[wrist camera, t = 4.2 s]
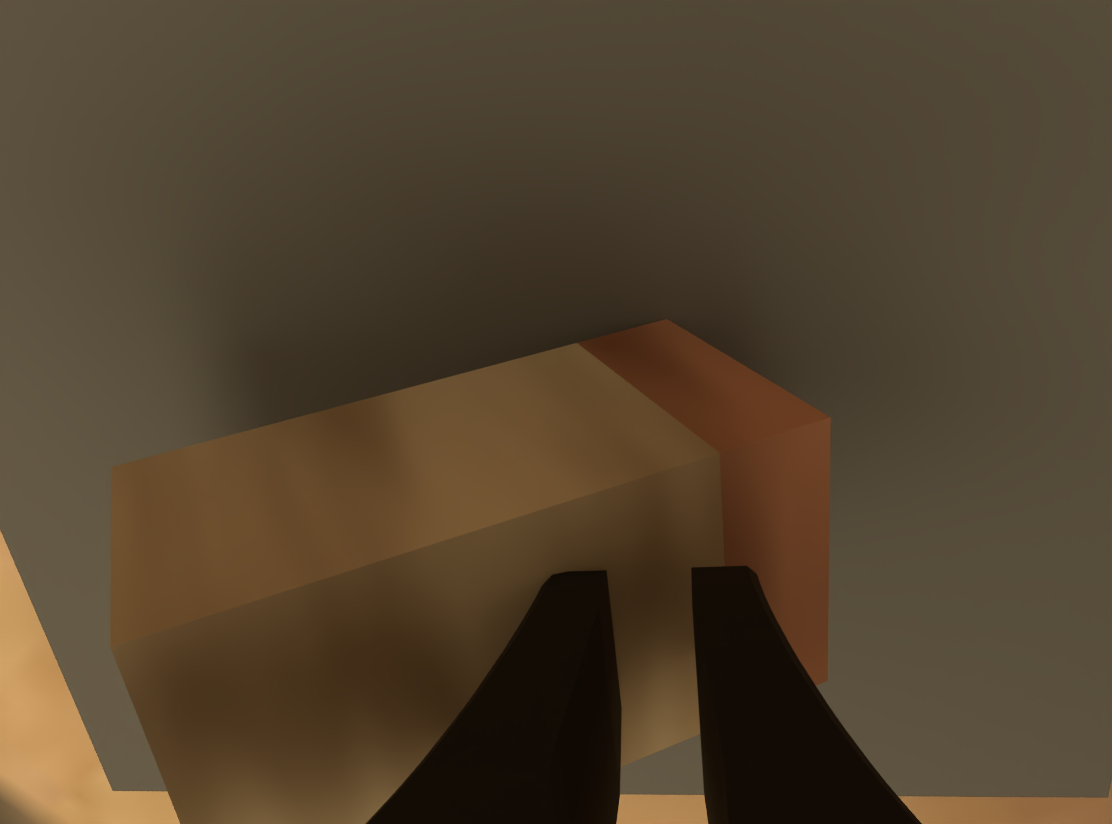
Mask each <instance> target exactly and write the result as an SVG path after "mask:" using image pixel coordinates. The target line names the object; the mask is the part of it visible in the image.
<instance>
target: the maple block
mask: <svg viewBox="0 0 1112 824" xmlns="http://www.w3.org/2000/svg"><path fill="white" fill-rule="evenodd" d="M830 435H831V417H829V416H828V415H826V414H824V413H823V412H821V411H819V410H818V409H816V408H814V407H813V406H811V405H809V404H808V403H806V402H804V401H803V400H801V399H799V398H798V397H796V396H794V395H793V394H791V393H789V392H788V391H786V390H784V389H783V388H781V387H779V386H778V385H776V384H774V383H773V382H771V381H769V380H768V379H766V378H764V377H763V376H761V375H759V374H758V373H756V372H754V371H753V370H751V369H749V368H748V367H746V366H744V365H743V364H741V363H739V362H738V361H736V360H734V359H733V358H731V357H729V356H728V355H726V354H724V353H723V352H721V351H719V350H718V349H716V348H714V347H713V346H711V345H709V344H708V343H706V342H704V341H703V340H701V339H699V338H698V337H696V336H694V335H693V334H691V333H690V332H688V331H686V330H685V329H683V328H681V327H680V326H678V325H676V324H675V323H673V322H671V321H670V320H668V319H665V320H661V321H657V322H653V323H650V324H646V325H642V326H638V327H635V328H631V329H627V330H623V331H620V332H616V333H612V334H608V335H605V336H601V337H597V338H593V339H590V340H586V341H582V342H578V343H575V344H571V345H567V346H563V347H560V348H556V349H552V350H548V351H545V352H541V353H537V354H533V355H530V356H526V357H522V358H518V359H515V360H511V361H507V362H503V363H499V364H496V365H492V366H488V367H484V368H481V369H477V370H473V371H469V372H466V373H462V374H458V375H454V376H451V377H447V378H443V379H439V380H436V381H432V382H428V383H424V384H421V385H417V386H413V387H409V388H406V389H402V390H398V391H394V392H391V393H387V394H383V395H379V396H376V397H372V398H368V399H364V400H361V401H357V402H353V403H349V404H346V405H342V406H338V407H334V408H331V409H327V410H323V411H319V412H316V413H312V414H308V415H304V416H300V417H297V418H293V419H289V420H285V421H282V422H278V423H274V424H270V425H267V426H263V427H259V428H255V429H252V430H248V431H244V432H240V433H237V434H233V435H229V436H225V437H222V438H218V439H214V440H210V441H207V442H203V443H199V444H195V445H192V446H188V447H184V448H180V449H177V450H173V451H169V452H165V453H162V454H158V455H154V456H150V457H147V458H143V459H139V460H135V461H132V462H128V463H124V464H120V465H116V466H113V467H111V590H110V648H111V650H112V653H113V655H114V658H115V660H116V663H117V665H118V668H119V670H120V673H121V675H122V678H123V680H124V683H125V685H126V688H127V690H128V693H129V695H130V698H131V700H132V703H133V706H134V708H135V711H136V713H137V716H138V718H139V721H140V723H141V726H142V728H143V731H144V733H145V736H146V738H147V741H148V743H149V746H150V748H151V751H152V753H153V756H154V758H155V761H156V763H157V766H158V768H159V771H160V773H161V776H162V778H163V781H164V783H165V786H166V788H167V791H168V793H169V796H170V798H171V801H172V803H173V806H174V809H175V811H176V814H177V816H178V819H179V821H180V824H366V823H367V822H368V820H369V819H370V818H371V817H372V816H373V815H374V814H375V813H376V812H377V811H378V810H379V809H380V808H381V807H382V805H383V804H384V803H385V802H386V801H387V800H388V799H389V798H390V797H391V796H392V795H393V794H394V792H395V791H396V790H397V789H398V788H399V787H400V786H401V785H402V783H403V782H404V781H405V780H406V779H407V778H408V777H409V775H410V774H411V773H412V772H413V771H414V769H415V768H416V767H417V766H418V765H419V764H420V762H421V761H422V760H423V759H424V758H425V756H426V755H427V754H428V753H429V751H430V750H431V749H432V748H433V746H434V745H435V744H436V742H437V741H438V740H439V739H440V737H441V736H442V735H443V733H444V732H445V731H446V730H447V728H448V727H449V726H450V724H451V723H452V722H453V721H454V719H455V718H456V717H457V716H458V714H459V713H460V712H461V710H462V709H463V708H464V706H465V705H466V704H467V702H468V701H469V700H470V698H471V697H472V696H473V694H474V693H475V691H476V690H477V688H478V687H479V685H480V684H481V683H482V681H483V680H484V678H485V677H486V675H487V674H488V672H489V671H490V669H491V668H492V666H493V665H494V664H495V662H496V661H497V659H498V658H499V656H500V655H501V653H502V652H503V650H504V649H505V647H506V646H507V644H508V642H509V641H510V639H511V638H512V636H513V635H514V633H515V631H516V630H517V628H518V627H519V625H520V623H521V622H522V620H523V618H524V617H525V615H526V613H527V612H528V610H529V608H530V607H531V605H532V603H533V601H534V599H535V598H536V596H537V594H538V592H539V591H540V589H541V587H542V585H543V584H544V583H545V582H546V581H547V580H548V579H549V578H550V576H551V575H553V574H558V573H563V572H569V571H599V570H607V578H608V587H609V597H610V606H611V615H612V624H613V633H614V642H615V651H616V661H617V670H618V679H619V688H620V697H621V706H622V721H621V767H622V766H624V765H626V764H629V763H631V762H634V761H636V760H638V759H641V758H643V757H646V756H648V755H650V754H653V753H655V752H658V751H660V750H663V749H665V748H667V747H670V746H672V745H675V744H677V743H679V742H682V741H684V740H687V739H689V738H691V737H694V736H696V735H699V734H700V721H699V705H698V689H697V674H696V658H695V642H694V626H693V611H692V579H691V567H720V566H748V567H749V568H750V569H752V570H753V571H754V572H755V573H756V574H757V575H758V579H759V582H760V584H761V587H762V589H763V592H764V594H765V597H766V599H767V601H768V603H769V605H770V608H771V610H772V612H773V614H774V616H775V618H776V620H777V622H778V623H779V625H780V627H781V629H782V631H783V632H784V634H785V636H786V638H787V640H788V642H789V643H790V645H791V647H792V649H793V650H794V652H795V654H796V655H797V657H798V659H799V660H800V662H801V664H802V665H803V667H804V668H805V670H806V671H807V673H808V674H809V676H810V677H811V679H812V681H813V682H814V684H815V685H816V686H817V685H819V684H821V683H824V682H826V681H828V606H829V521H830Z"/></svg>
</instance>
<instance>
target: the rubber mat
mask: <svg viewBox="0 0 1112 824" xmlns="http://www.w3.org/2000/svg"><path fill="white" fill-rule="evenodd" d="M665 319H668V320H670V321H671V322H673V323H675V324H676V325H678V326H680V327H681V328H683V329H685V330H686V331H688V332H690V333H691V334H693V335H694V336H696V337H698V338H699V339H701V340H703V341H704V342H706V343H708V344H709V345H711V346H713V347H714V348H716V349H718V350H719V351H721V352H723V353H724V354H726V355H728V356H729V357H731V358H733V359H734V360H736V361H738V362H739V363H741V364H743V365H744V366H746V367H748V368H749V369H751V370H753V371H754V372H756V373H758V374H759V375H761V376H763V377H764V378H766V379H768V380H769V381H771V382H773V383H774V384H776V385H778V386H779V387H781V388H783V389H784V390H786V391H788V392H789V393H791V394H793V395H794V396H796V397H798V398H799V399H801V400H803V401H804V402H806V403H808V404H809V405H811V406H813V407H814V408H816V409H818V410H819V411H821V412H823V413H824V414H826V415H828V416H829V417H831V435H830V521H829V606H828V681H826V682H824V683H821V684H819V685H817V686H816V687H817V688H818V690H819V691H820V693H821V694H822V696H823V698H824V699H825V701H826V702H827V704H828V705H829V707H830V708H831V709H832V711H833V712H834V714H835V715H836V717H837V718H838V719H839V721H840V722H841V724H842V725H843V727H844V728H845V729H846V731H847V732H848V733H849V735H850V736H851V737H852V739H853V740H854V741H855V743H856V744H857V745H858V747H859V748H860V749H861V751H862V752H863V753H864V755H865V756H866V757H867V759H868V760H869V761H870V763H871V764H872V765H873V766H874V768H875V769H876V770H877V771H878V773H879V774H880V775H881V776H882V778H883V779H884V780H885V781H886V783H887V784H888V785H889V786H890V787H891V789H892V790H893V791H894V792H895V793H896V795H897V796H958V797H1108V795H1109V790H1110V784H1111V779H1112V0H0V530H1V532H2V534H3V537H4V539H5V541H6V544H7V546H8V548H9V551H10V553H11V555H12V558H13V560H14V562H15V565H16V567H17V569H18V572H19V574H20V576H21V579H22V581H23V583H24V586H25V588H26V590H27V593H28V595H29V597H30V600H31V602H32V604H33V607H34V609H35V611H36V614H37V616H38V618H39V621H40V623H41V625H42V627H43V630H44V632H45V634H46V637H47V639H48V641H49V644H50V646H51V648H52V651H53V653H54V655H55V658H56V660H57V662H58V665H59V667H60V669H61V672H62V674H63V676H64V679H65V681H66V683H67V686H68V688H69V690H70V693H71V695H72V697H73V700H74V702H75V704H76V707H77V709H78V711H79V714H80V716H81V718H82V720H83V723H84V725H85V727H86V730H87V732H88V734H89V737H90V739H91V741H92V744H93V746H94V748H95V751H96V753H97V755H98V758H99V760H100V762H101V765H102V767H103V769H104V772H105V774H106V776H107V779H108V781H109V783H110V786H111V788H112V790H113V791H167V788H166V786H165V783H164V781H163V778H162V776H161V773H160V771H159V768H158V766H157V763H156V761H155V758H154V756H153V753H152V751H151V748H150V746H149V743H148V741H147V738H146V736H145V733H144V731H143V728H142V726H141V723H140V721H139V718H138V716H137V713H136V711H135V708H134V706H133V703H132V700H131V698H130V695H129V693H128V690H127V688H126V685H125V683H124V680H123V678H122V675H121V673H120V670H119V668H118V665H117V663H116V660H115V658H114V655H113V653H112V650H111V648H110V590H111V467H113V466H116V465H120V464H124V463H128V462H132V461H135V460H139V459H143V458H147V457H150V456H154V455H158V454H162V453H165V452H169V451H173V450H177V449H180V448H184V447H188V446H192V445H195V444H199V443H203V442H207V441H210V440H214V439H218V438H222V437H225V436H229V435H233V434H237V433H240V432H244V431H248V430H252V429H255V428H259V427H263V426H267V425H270V424H274V423H278V422H282V421H285V420H289V419H293V418H297V417H300V416H304V415H308V414H312V413H316V412H319V411H323V410H327V409H331V408H334V407H338V406H342V405H346V404H349V403H353V402H357V401H361V400H364V399H368V398H372V397H376V396H379V395H383V394H387V393H391V392H394V391H398V390H402V389H406V388H409V387H413V386H417V385H421V384H424V383H428V382H432V381H436V380H439V379H443V378H447V377H451V376H454V375H458V374H462V373H466V372H469V371H473V370H477V369H481V368H484V367H488V366H492V365H496V364H499V363H503V362H507V361H511V360H515V359H518V358H522V357H526V356H530V355H533V354H537V353H541V352H545V351H548V350H552V349H556V348H560V347H563V346H567V345H571V344H575V343H578V342H582V341H586V340H590V339H593V338H597V337H601V336H605V335H608V334H612V333H616V332H620V331H623V330H627V329H631V328H635V327H638V326H642V325H646V324H650V323H653V322H657V321H661V320H665ZM620 794H658V795H704V784H703V768H702V753H701V737H700V734H699V735H696V736H694V737H691V738H689V739H687V740H684V741H682V742H679V743H677V744H675V745H672V746H670V747H667V748H665V749H663V750H660V751H658V752H655V753H653V754H650V755H648V756H646V757H643V758H641V759H638V760H636V761H634V762H631V763H629V764H626V765H624V766H622V767H621V775H620Z"/></svg>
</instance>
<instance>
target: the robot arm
mask: <svg viewBox="0 0 1112 824" xmlns="http://www.w3.org/2000/svg"><path fill="white" fill-rule="evenodd" d="M691 579H692V611H693V626H694V642H695V658H696V674H697V689H698V705H699V721H700V737H701V753H702V768H703V784H704V795H705V802H706V809H707V816H708V823H709V824H922V823H921V822H920V821H919V820H918V819H917V818H916V817H915V815H914V814H913V813H912V812H911V811H910V810H909V809H908V808H907V806H906V805H905V804H904V803H903V802H902V801H901V799H900V798H899V797H898V796H897V795H896V793H895V792H894V791H893V790H892V789H891V787H890V786H889V785H888V784H887V783H886V781H885V780H884V779H883V778H882V776H881V775H880V774H879V773H878V771H877V770H876V769H875V768H874V766H873V765H872V764H871V763H870V761H869V760H868V759H867V757H866V756H865V755H864V753H863V752H862V751H861V749H860V748H859V747H858V745H857V744H856V743H855V741H854V740H853V739H852V737H851V736H850V735H849V733H848V732H847V731H846V729H845V728H844V727H843V725H842V724H841V722H840V721H839V719H838V718H837V717H836V715H835V714H834V712H833V711H832V709H831V708H830V707H829V705H828V704H827V702H826V701H825V699H824V698H823V696H822V694H821V693H820V691H819V690H818V688H817V687H816V685H815V684H814V682H813V681H812V679H811V677H810V676H809V674H808V673H807V671H806V670H805V668H804V667H803V665H802V664H801V662H800V660H799V659H798V657H797V655H796V654H795V652H794V650H793V649H792V647H791V645H790V643H789V642H788V640H787V638H786V636H785V634H784V632H783V631H782V629H781V627H780V625H779V623H778V622H777V620H776V618H775V616H774V614H773V612H772V610H771V608H770V605H769V603H768V601H767V599H766V597H765V594H764V592H763V589H762V587H761V584H760V582H759V579H758V575H757V574H756V573H755V572H754V571H753V570H752V569H750V568H749V567H748V566H720V567H691ZM621 721H622V706H621V697H620V688H619V679H618V670H617V661H616V651H615V642H614V633H613V624H612V615H611V606H610V597H609V587H608V578H607V570H599V571H569V572H563V573H558V574H553V575H551V576H550V578H549V579H548V580H547V581H546V582H545V583H544V584H543V585H542V587H541V589H540V591H539V592H538V594H537V596H536V598H535V599H534V601H533V603H532V605H531V607H530V608H529V610H528V612H527V613H526V615H525V617H524V618H523V620H522V622H521V623H520V625H519V627H518V628H517V630H516V631H515V633H514V635H513V636H512V638H511V639H510V641H509V642H508V644H507V646H506V647H505V649H504V650H503V652H502V653H501V655H500V656H499V658H498V659H497V661H496V662H495V664H494V665H493V666H492V668H491V669H490V671H489V672H488V674H487V675H486V677H485V678H484V680H483V681H482V683H481V684H480V685H479V687H478V688H477V690H476V691H475V693H474V694H473V696H472V697H471V698H470V700H469V701H468V702H467V704H466V705H465V706H464V708H463V709H462V710H461V712H460V713H459V714H458V716H457V717H456V718H455V719H454V721H453V722H452V723H451V724H450V726H449V727H448V728H447V730H446V731H445V732H444V733H443V735H442V736H441V737H440V739H439V740H438V741H437V742H436V744H435V745H434V746H433V748H432V749H431V750H430V751H429V753H428V754H427V755H426V756H425V758H424V759H423V760H422V761H421V762H420V764H419V765H418V766H417V767H416V768H415V769H414V771H413V772H412V773H411V774H410V775H409V777H408V778H407V779H406V780H405V781H404V782H403V783H402V785H401V786H400V787H399V788H398V789H397V790H396V791H395V792H394V794H393V795H392V796H391V797H390V798H389V799H388V800H387V801H386V802H385V803H384V804H383V805H382V807H381V808H380V809H379V810H378V811H377V812H376V813H375V814H374V815H373V816H372V817H371V818H370V819H369V820H368V822H367V823H366V824H616V821H617V813H618V805H619V797H620V775H621Z"/></svg>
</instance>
